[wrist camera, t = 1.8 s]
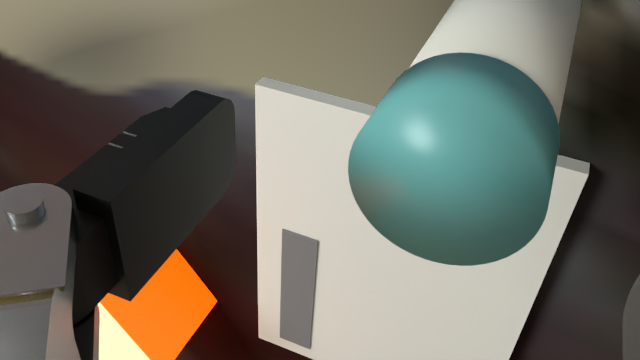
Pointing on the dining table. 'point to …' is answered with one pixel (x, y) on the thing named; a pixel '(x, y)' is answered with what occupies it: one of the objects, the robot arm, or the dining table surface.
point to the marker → (469, 133)
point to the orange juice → (155, 315)
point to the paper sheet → (373, 251)
